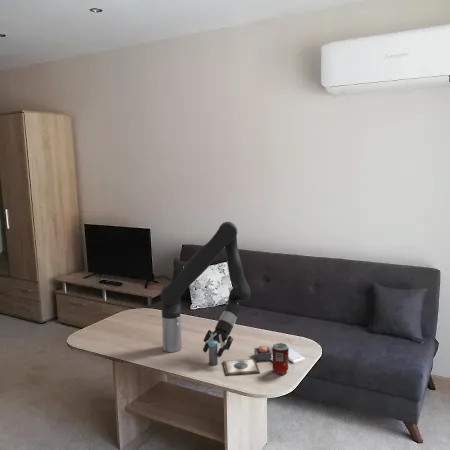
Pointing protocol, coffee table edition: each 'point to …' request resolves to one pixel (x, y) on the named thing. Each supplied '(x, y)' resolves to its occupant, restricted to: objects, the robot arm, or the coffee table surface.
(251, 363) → the board
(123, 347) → the coffee table surface
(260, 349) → the button
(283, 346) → the soda can
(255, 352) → the button housing
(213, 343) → the marker
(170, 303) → the robot arm
